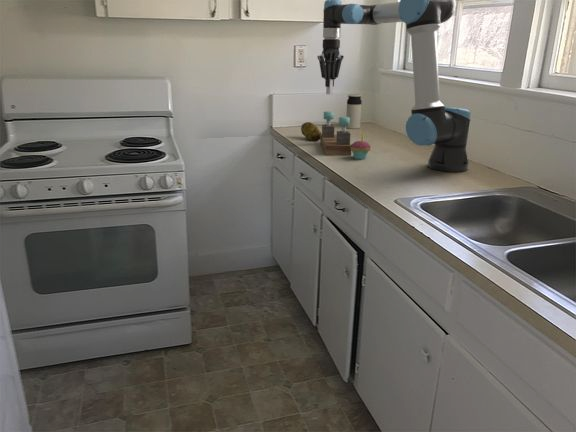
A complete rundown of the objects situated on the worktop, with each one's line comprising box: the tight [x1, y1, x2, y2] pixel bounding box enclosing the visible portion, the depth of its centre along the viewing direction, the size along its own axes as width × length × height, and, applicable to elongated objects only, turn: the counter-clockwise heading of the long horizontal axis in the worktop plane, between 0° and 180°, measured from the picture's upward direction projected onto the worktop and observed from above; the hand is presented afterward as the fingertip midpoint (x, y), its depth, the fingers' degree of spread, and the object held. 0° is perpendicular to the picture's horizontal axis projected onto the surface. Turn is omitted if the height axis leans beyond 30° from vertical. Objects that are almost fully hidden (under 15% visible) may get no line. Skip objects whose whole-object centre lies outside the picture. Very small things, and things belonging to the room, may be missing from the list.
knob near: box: [338, 116, 350, 133], centre depth 207 cm, size 5×5×8 cm
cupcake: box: [350, 128, 371, 160], centre depth 199 cm, size 9×8×12 cm
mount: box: [319, 124, 352, 156], centre depth 216 cm, size 26×11×9 cm, turn 1°
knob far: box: [323, 110, 335, 126], centre depth 221 cm, size 5×5×8 cm
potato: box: [300, 121, 322, 142], centre depth 236 cm, size 8×13×8 cm, turn 15°
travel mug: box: [345, 93, 363, 130], centre depth 266 cm, size 8×8×18 cm
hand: (329, 94), depth 217 cm, fingers closed
